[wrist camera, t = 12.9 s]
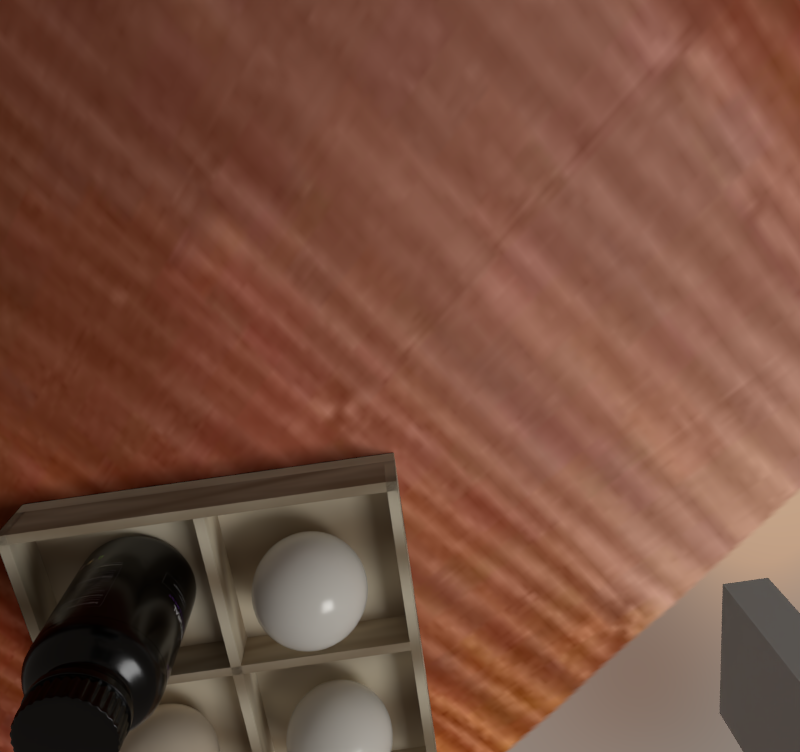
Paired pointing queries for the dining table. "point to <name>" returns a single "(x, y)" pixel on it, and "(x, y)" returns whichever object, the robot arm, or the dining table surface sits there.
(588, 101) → the dining table surface
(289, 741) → the egg
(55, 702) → the supplement bottle
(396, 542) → the crate
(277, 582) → the egg
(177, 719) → the egg
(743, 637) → the robot arm
